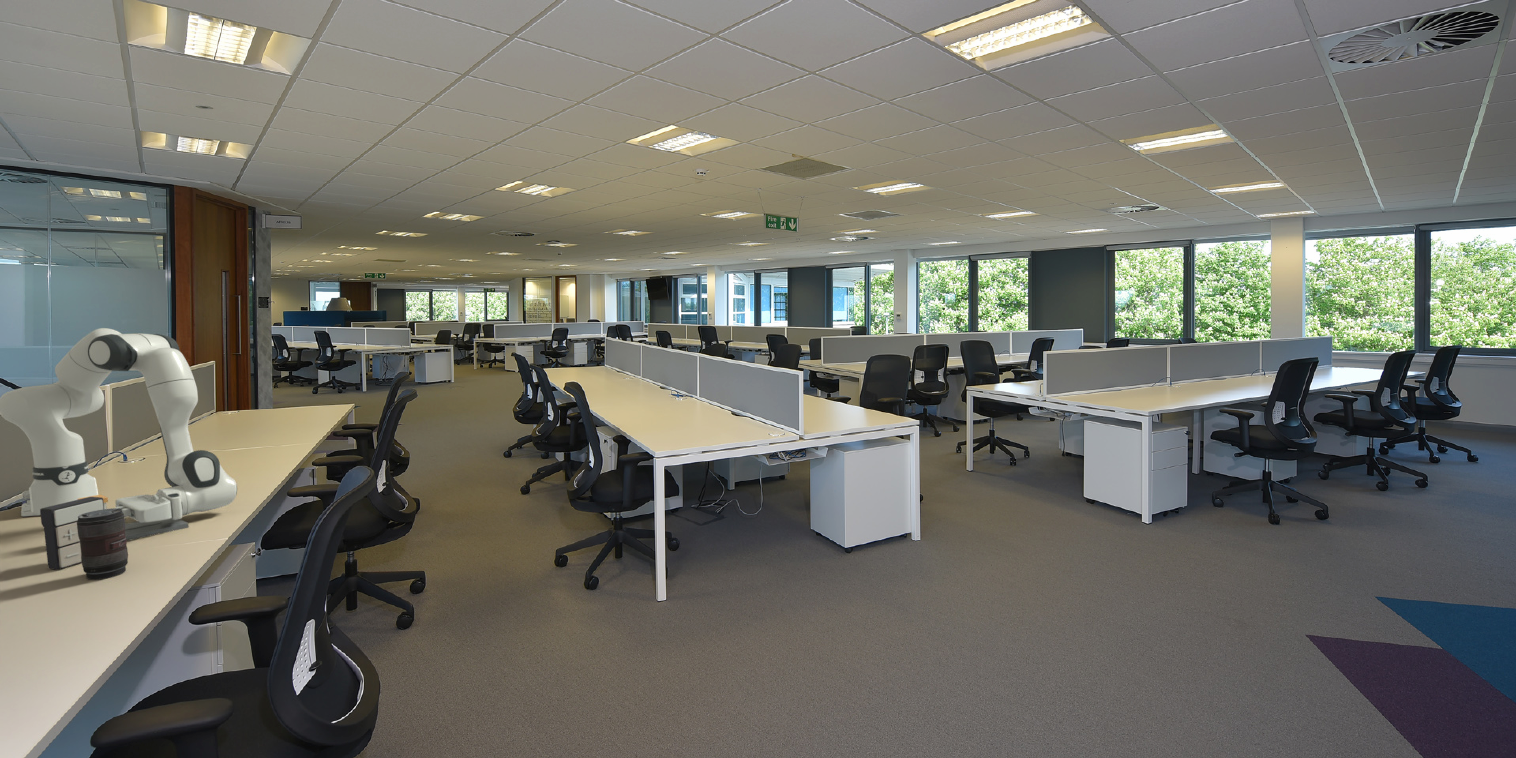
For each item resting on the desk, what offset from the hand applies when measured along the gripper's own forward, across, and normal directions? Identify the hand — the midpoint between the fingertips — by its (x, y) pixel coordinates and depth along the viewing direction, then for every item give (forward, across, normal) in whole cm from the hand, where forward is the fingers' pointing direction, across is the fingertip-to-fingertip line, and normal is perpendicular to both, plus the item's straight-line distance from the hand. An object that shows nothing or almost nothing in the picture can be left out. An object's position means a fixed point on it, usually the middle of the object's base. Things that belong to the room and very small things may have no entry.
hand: (104, 515), depth 185 cm
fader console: (-4, 0, +6) cm, 7 cm away
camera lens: (+8, +33, +6) cm, 35 cm away
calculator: (+9, +17, +7) cm, 21 cm away
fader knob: (+2, 0, +5) cm, 5 cm away
